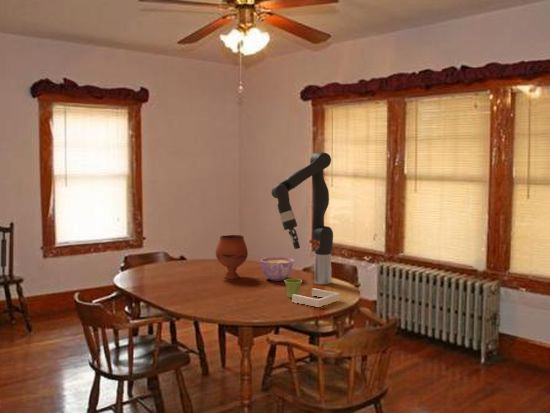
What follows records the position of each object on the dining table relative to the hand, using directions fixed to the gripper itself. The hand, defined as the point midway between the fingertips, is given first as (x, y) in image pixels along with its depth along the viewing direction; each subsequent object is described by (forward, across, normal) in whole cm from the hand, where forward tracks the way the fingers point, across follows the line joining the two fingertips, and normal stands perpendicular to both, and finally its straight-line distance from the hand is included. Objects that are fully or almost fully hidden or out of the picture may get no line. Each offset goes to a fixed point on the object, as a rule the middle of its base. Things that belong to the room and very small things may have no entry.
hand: (297, 248), depth 305 cm
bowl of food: (+15, +32, +14) cm, 38 cm away
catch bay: (+28, -18, +2) cm, 33 cm away
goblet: (+6, +39, +39) cm, 56 cm away
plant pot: (+23, -9, +11) cm, 27 cm away
